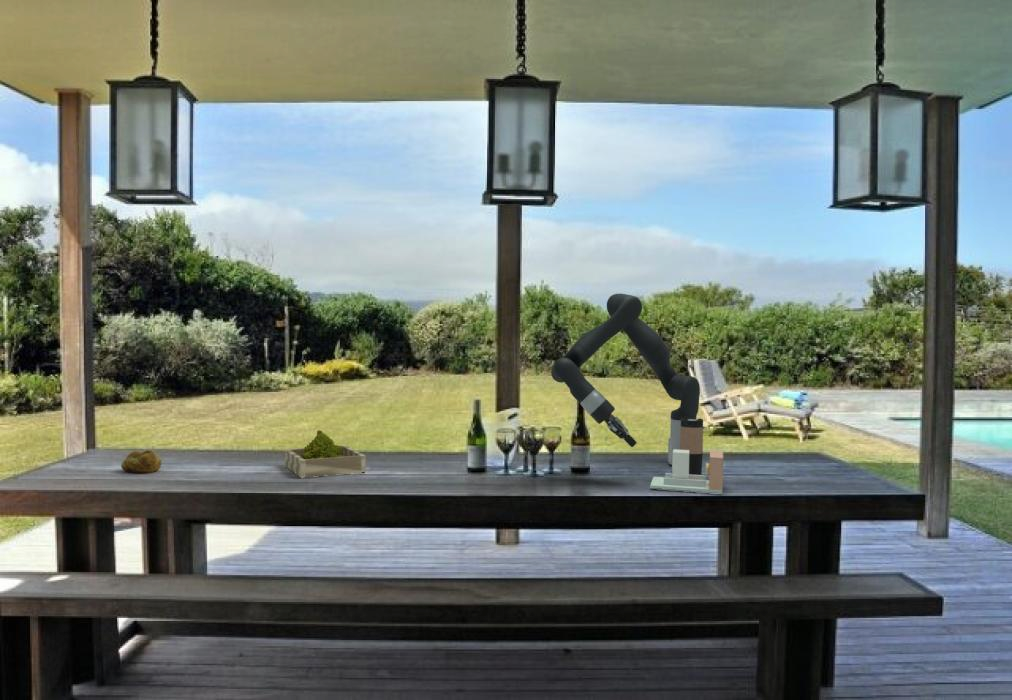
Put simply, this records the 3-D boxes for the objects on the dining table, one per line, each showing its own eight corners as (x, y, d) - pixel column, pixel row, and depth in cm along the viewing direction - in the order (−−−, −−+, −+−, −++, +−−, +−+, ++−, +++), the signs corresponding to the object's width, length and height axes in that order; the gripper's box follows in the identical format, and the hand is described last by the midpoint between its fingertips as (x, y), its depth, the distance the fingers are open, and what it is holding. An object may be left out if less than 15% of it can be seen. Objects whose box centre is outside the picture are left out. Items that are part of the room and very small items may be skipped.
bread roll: (115, 473, 265) (114, 449, 264) (133, 467, 274) (133, 445, 274) (149, 475, 262) (149, 451, 262) (167, 469, 272) (167, 446, 272)
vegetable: (294, 464, 264) (305, 424, 272) (296, 480, 277) (306, 441, 285) (338, 472, 265) (348, 431, 273) (338, 488, 279) (347, 449, 286)
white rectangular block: (671, 483, 251) (672, 452, 251) (672, 479, 257) (673, 449, 257) (688, 484, 250) (688, 453, 249) (688, 480, 256) (689, 450, 255)
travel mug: (685, 480, 265) (687, 420, 264) (675, 475, 272) (676, 417, 272) (706, 479, 267) (707, 420, 266) (695, 474, 275) (696, 417, 274)
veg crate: (285, 466, 280) (285, 449, 279) (345, 461, 290) (345, 445, 290) (300, 478, 259) (300, 460, 259) (365, 473, 270) (365, 455, 270)
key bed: (650, 490, 249) (650, 453, 249) (653, 481, 263) (654, 446, 262) (722, 495, 243) (723, 458, 243) (721, 485, 257) (722, 450, 256)
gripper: (602, 400, 252) (641, 440, 249) (608, 396, 265) (644, 434, 262) (586, 416, 254) (624, 456, 251) (592, 411, 266) (628, 449, 264)
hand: (634, 445), depth 257 cm, fingers closed
